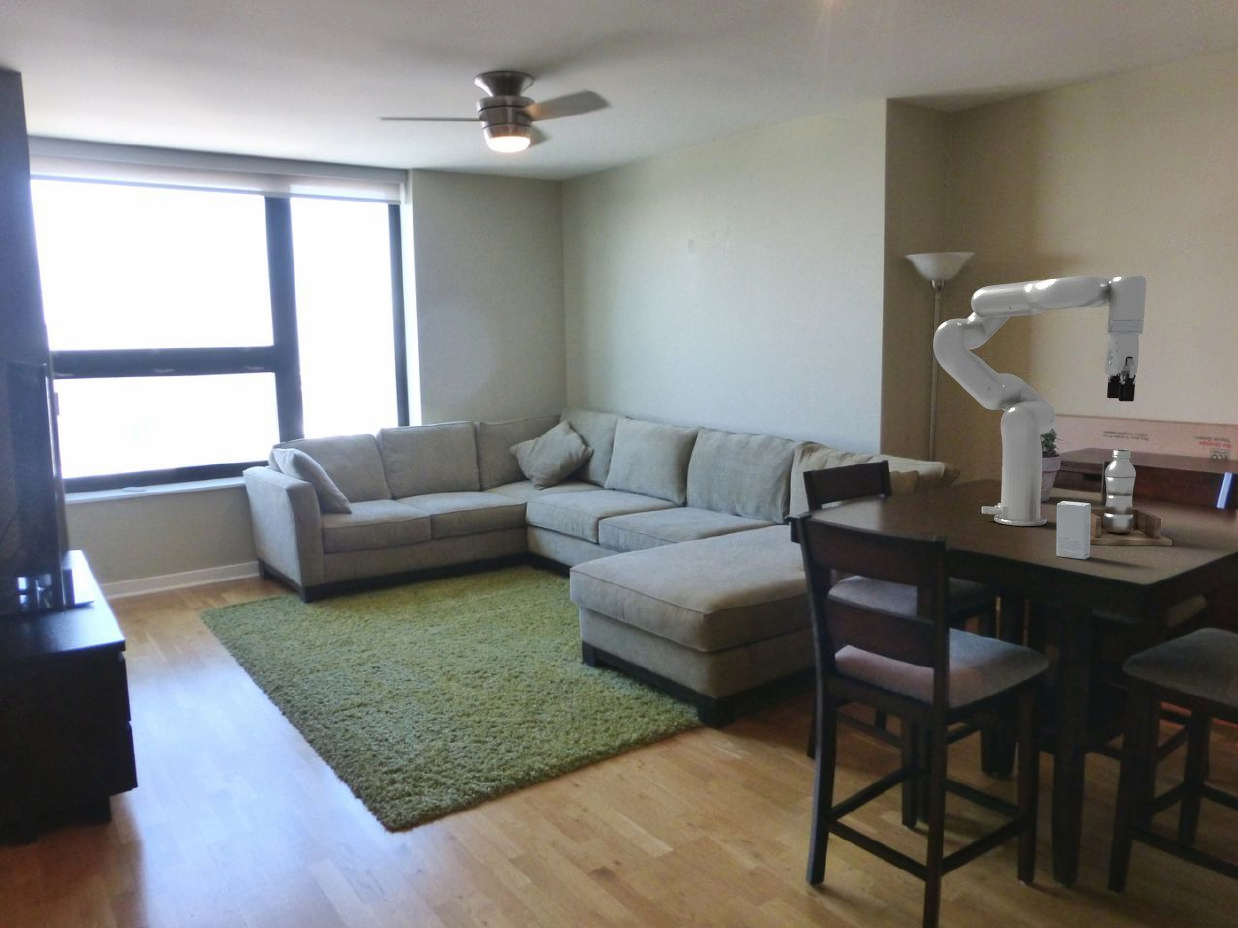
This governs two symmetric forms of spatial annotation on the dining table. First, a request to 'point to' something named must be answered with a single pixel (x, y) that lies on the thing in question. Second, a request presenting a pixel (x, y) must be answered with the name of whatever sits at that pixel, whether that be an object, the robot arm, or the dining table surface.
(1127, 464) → the silver bottle
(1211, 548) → the dining table surface
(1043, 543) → the dining table surface
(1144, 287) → the robot arm
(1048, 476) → the potted plant
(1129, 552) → the dining table surface
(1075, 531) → the skincare box
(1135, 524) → the brown tray
